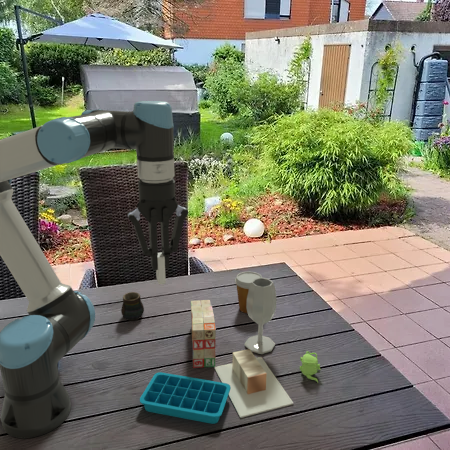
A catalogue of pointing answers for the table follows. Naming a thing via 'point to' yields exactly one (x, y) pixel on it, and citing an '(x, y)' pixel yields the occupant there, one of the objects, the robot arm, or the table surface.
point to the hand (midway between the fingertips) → (161, 281)
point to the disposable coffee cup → (244, 287)
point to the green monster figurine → (309, 365)
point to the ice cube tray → (185, 397)
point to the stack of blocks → (203, 334)
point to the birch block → (249, 371)
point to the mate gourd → (132, 306)
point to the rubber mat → (254, 401)
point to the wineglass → (261, 313)
